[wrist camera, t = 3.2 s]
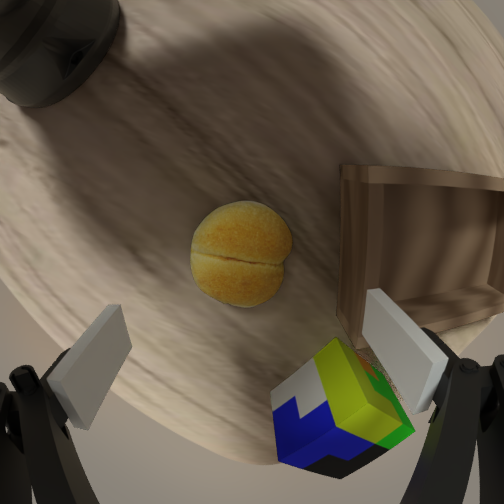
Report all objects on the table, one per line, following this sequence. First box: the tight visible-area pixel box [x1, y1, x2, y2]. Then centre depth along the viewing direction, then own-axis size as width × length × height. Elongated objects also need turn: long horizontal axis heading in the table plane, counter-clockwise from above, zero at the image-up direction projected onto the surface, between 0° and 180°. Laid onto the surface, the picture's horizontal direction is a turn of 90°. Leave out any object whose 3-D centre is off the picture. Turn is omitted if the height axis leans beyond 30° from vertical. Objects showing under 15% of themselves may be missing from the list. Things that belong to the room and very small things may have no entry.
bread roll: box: [190, 201, 293, 308], centre depth 23 cm, size 8×9×4 cm
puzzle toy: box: [270, 337, 415, 479], centre depth 25 cm, size 10×10×10 cm
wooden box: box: [336, 165, 504, 349], centre depth 22 cm, size 22×14×6 cm, turn 93°
